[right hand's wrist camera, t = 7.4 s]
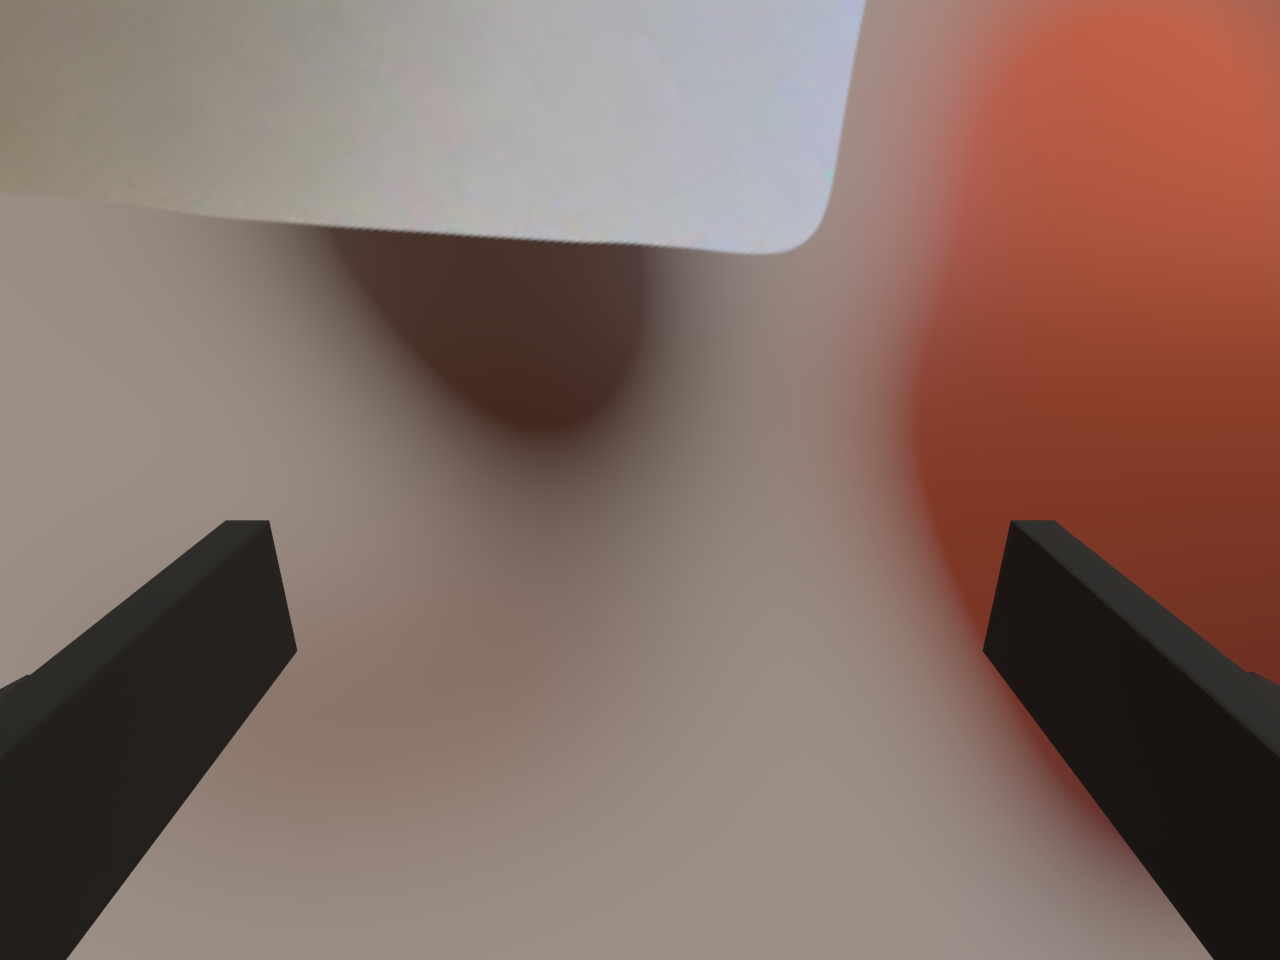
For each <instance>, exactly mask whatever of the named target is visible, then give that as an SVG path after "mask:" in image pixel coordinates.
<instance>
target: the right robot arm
mask: <svg viewBox="0 0 1280 960" xmlns="http://www.w3.org/2000/svg"><path fill="white" fill-rule="evenodd" d="M296 652H297V647H296V643H295V638H294V633H293V629H292V624H291V620H290V615H289V610H288V606H287V601H286V596H285V592H284V587H283V583H282V578H281V573H280V569H279V564H278V560H277V555H276V550H275V546H274V541H273V536H272V532H271V527H270V522H269V521H268V520H267V521H264V520H260V521H257V520H256V521H255V520H254V521H253V520H242V521H241V520H240V521H239V520H235V521H234V520H230V521H229V520H226V521H225V522H223V523H222V524H221V525H219V526H218V527H217V528H216V529H214V530H213V531H212V532H211V533H209V534H208V535H207V536H206V537H204V538H203V539H202V540H201V541H199V542H198V543H197V544H195V545H194V546H193V547H192V548H190V549H189V550H188V551H187V552H185V553H184V554H183V555H182V556H180V557H179V558H178V559H176V560H175V561H174V562H173V563H171V564H170V565H169V566H168V567H166V568H165V569H164V570H163V571H161V572H160V573H159V574H158V575H156V576H155V577H154V578H152V579H151V580H150V581H149V582H147V583H146V584H145V585H144V586H142V587H141V588H140V589H138V590H137V591H136V592H135V593H133V594H132V595H131V596H130V597H128V598H127V599H126V600H125V601H123V602H122V603H121V604H120V605H118V606H117V607H116V608H114V609H113V610H112V611H111V612H109V613H108V614H107V615H106V616H104V617H103V618H102V619H101V620H99V621H98V622H97V623H95V624H94V625H93V626H92V627H90V628H89V629H88V630H87V631H85V632H84V633H83V634H82V635H80V636H79V637H78V638H77V639H75V640H74V641H73V642H71V643H70V644H69V645H68V646H66V647H65V648H64V649H63V650H61V651H60V652H59V653H58V654H56V655H55V656H54V657H52V658H51V659H50V660H49V661H47V662H46V663H45V664H44V665H42V666H41V667H40V668H39V669H37V670H36V671H35V672H34V673H32V674H31V675H26V676H24V677H22V678H20V679H19V680H17V681H15V682H13V683H11V684H9V685H7V686H5V687H3V688H1V689H0V960H66V959H67V958H68V957H69V955H70V954H71V952H72V951H73V950H74V948H75V947H76V946H77V944H78V943H79V942H80V940H81V939H82V938H83V936H84V935H85V934H86V932H87V931H88V930H89V928H90V927H91V926H92V924H93V923H94V922H95V920H96V919H97V918H98V916H99V915H100V914H101V912H102V911H103V910H104V908H105V907H106V906H107V904H108V903H109V902H110V900H111V899H112V898H113V896H114V895H115V894H116V892H117V891H118V890H119V888H120V887H121V886H122V884H123V883H124V882H125V880H126V879H127V878H128V876H129V875H130V874H131V872H132V871H133V870H134V868H135V867H136V866H137V864H138V863H139V862H140V860H141V859H142V858H143V856H144V855H145V854H146V852H147V851H148V850H149V848H150V847H151V846H152V844H153V843H154V842H155V840H156V839H157V838H158V836H159V835H160V834H161V832H162V831H163V830H164V828H165V827H166V826H167V824H168V823H169V822H170V820H171V819H172V818H173V816H174V815H175V814H176V812H177V811H178V810H179V808H180V807H181V806H182V804H183V803H184V802H185V800H186V799H187V797H188V796H189V795H190V794H191V792H192V791H193V790H194V788H195V787H196V785H197V784H198V783H199V781H200V780H201V779H202V777H203V776H204V775H205V773H206V772H207V771H208V769H209V768H210V767H211V765H212V764H213V763H214V761H215V760H216V759H217V757H218V756H219V755H220V753H221V752H222V751H223V749H224V748H225V747H226V745H227V744H228V743H229V741H230V740H231V739H232V737H233V736H234V735H235V733H236V732H237V731H238V729H239V728H240V727H241V725H242V724H243V723H244V721H245V720H246V719H247V717H248V716H249V715H250V713H251V712H252V711H253V709H254V708H255V707H256V705H257V704H258V703H259V701H260V700H261V699H262V697H263V696H264V695H265V693H266V692H267V691H268V689H269V688H270V687H271V685H272V684H273V683H274V681H275V680H276V679H277V677H278V676H279V675H280V673H281V672H282V671H283V669H284V668H285V667H286V665H287V664H288V663H289V661H290V660H291V659H292V657H293V656H294V655H295V653H296ZM983 652H984V653H985V655H986V656H987V657H988V659H989V660H990V661H991V663H992V664H993V665H994V667H995V668H996V669H997V671H998V672H999V673H1000V675H1001V676H1002V677H1003V679H1004V680H1005V681H1006V683H1007V684H1008V685H1009V687H1010V688H1011V689H1012V691H1013V692H1014V693H1015V695H1016V696H1017V697H1018V699H1019V700H1020V701H1021V703H1022V704H1023V705H1024V707H1025V708H1026V709H1027V711H1028V712H1029V713H1030V715H1031V716H1032V717H1033V719H1034V720H1035V721H1036V723H1037V724H1038V725H1039V727H1040V728H1041V729H1042V731H1043V732H1044V733H1045V735H1046V736H1047V737H1048V739H1049V740H1050V741H1051V743H1052V744H1053V745H1054V747H1055V748H1056V749H1057V751H1058V752H1059V753H1060V755H1061V756H1062V757H1063V759H1064V760H1065V761H1066V763H1067V764H1068V765H1069V767H1070V768H1071V769H1072V771H1073V772H1074V773H1075V775H1076V776H1077V777H1078V779H1079V780H1080V781H1081V783H1082V784H1083V785H1084V787H1085V788H1086V790H1087V791H1088V792H1089V794H1090V795H1091V796H1092V797H1093V799H1094V800H1095V802H1096V803H1097V804H1098V805H1099V807H1100V808H1101V810H1102V811H1103V812H1104V814H1105V815H1106V816H1107V818H1108V819H1109V820H1110V822H1111V823H1112V824H1113V826H1114V827H1115V828H1116V830H1117V831H1118V832H1119V834H1120V835H1121V836H1122V838H1123V839H1124V840H1125V842H1126V843H1127V844H1128V846H1129V847H1130V848H1131V850H1132V851H1133V852H1134V854H1135V855H1136V856H1137V858H1138V859H1139V860H1140V862H1141V863H1142V864H1143V866H1144V867H1145V868H1146V870H1147V871H1148V872H1149V874H1150V875H1151V876H1152V878H1153V879H1154V880H1155V882H1156V883H1157V884H1158V886H1159V887H1160V888H1161V890H1162V891H1163V892H1164V894H1165V895H1166V896H1167V898H1168V899H1169V900H1170V902H1171V903H1172V904H1173V906H1174V907H1175V908H1176V910H1177V911H1178V912H1179V914H1180V915H1181V916H1182V918H1183V919H1184V920H1185V922H1186V923H1187V924H1188V926H1189V927H1190V928H1191V930H1192V931H1193V932H1194V934H1195V935H1196V936H1197V938H1198V939H1199V940H1200V942H1201V943H1202V944H1203V946H1204V947H1205V948H1206V950H1207V951H1208V953H1209V954H1210V955H1211V956H1212V958H1213V959H1214V960H1280V686H1279V685H1277V684H1275V683H1273V682H1271V681H1269V680H1267V679H1265V678H1264V677H1262V676H1260V675H1258V674H1256V673H1254V672H1245V671H1244V670H1243V669H1241V668H1240V667H1239V666H1238V665H1236V664H1235V663H1234V662H1232V661H1231V660H1230V659H1229V658H1227V657H1226V656H1225V655H1224V654H1222V653H1221V652H1220V651H1219V650H1217V649H1216V648H1215V647H1214V646H1212V645H1211V644H1210V643H1209V642H1207V641H1206V640H1205V639H1203V638H1202V637H1201V636H1200V635H1198V634H1197V633H1196V632H1195V631H1193V630H1192V629H1191V628H1190V627H1188V626H1187V625H1186V624H1184V623H1183V622H1182V621H1181V620H1179V619H1178V618H1177V617H1176V616H1174V615H1173V614H1172V613H1171V612H1169V611H1168V610H1167V609H1165V608H1164V607H1163V606H1162V605H1160V604H1159V603H1158V602H1157V601H1155V600H1154V599H1153V598H1152V597H1150V596H1149V595H1148V594H1147V593H1145V592H1144V591H1143V590H1142V589H1140V588H1139V587H1138V586H1136V585H1135V584H1134V583H1133V582H1131V581H1130V580H1129V579H1128V578H1126V577H1125V576H1124V575H1122V574H1121V573H1120V572H1119V571H1117V570H1116V569H1115V568H1114V567H1112V566H1111V565H1110V564H1109V563H1107V562H1106V561H1105V560H1104V559H1102V558H1101V557H1100V556H1098V555H1097V554H1096V553H1095V552H1093V551H1092V550H1091V549H1090V548H1088V547H1087V546H1086V545H1085V544H1083V543H1082V542H1081V541H1080V540H1078V539H1077V538H1076V537H1074V536H1073V535H1072V534H1071V533H1069V532H1068V531H1067V530H1066V529H1064V528H1063V527H1062V526H1061V525H1059V524H1058V523H1057V522H1055V521H1054V520H1052V521H1051V520H1042V521H1041V520H1034V521H1033V520H1029V521H1028V520H1012V521H1011V522H1010V527H1009V532H1008V536H1007V541H1006V546H1005V550H1004V555H1003V559H1002V564H1001V569H1000V573H999V578H998V583H997V587H996V592H995V596H994V601H993V606H992V610H991V615H990V620H989V624H988V629H987V633H986V638H985V643H984V647H983Z"/></svg>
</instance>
